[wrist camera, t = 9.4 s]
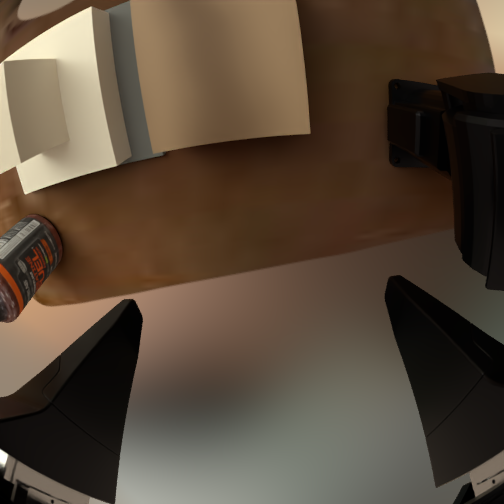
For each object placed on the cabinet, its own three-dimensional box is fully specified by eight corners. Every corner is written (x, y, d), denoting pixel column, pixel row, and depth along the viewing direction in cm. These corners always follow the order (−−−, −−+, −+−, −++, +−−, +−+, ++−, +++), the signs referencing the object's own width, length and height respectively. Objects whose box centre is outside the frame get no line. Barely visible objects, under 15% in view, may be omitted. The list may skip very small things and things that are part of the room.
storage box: (279, -13, 12) (288, -42, 8) (296, 122, 17) (310, 133, 13) (157, 6, 12) (129, -14, 8) (176, 137, 18) (153, 153, 13)
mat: (142, -1, 12) (139, -3, 11) (165, 153, 18) (163, 155, 18) (5, 71, 13) (1, 72, 12) (30, 190, 19) (26, 193, 19)
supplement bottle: (71, 266, 24) (13, 353, 14) (32, 262, 23) (-25, 337, 14) (56, 210, 20) (-24, 291, 11) (16, 212, 20) (-57, 281, 11)
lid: (108, 13, 12) (43, -8, 5) (131, 155, 18) (75, 196, 11) (18, 63, 12) (-49, 74, 6) (42, 182, 18) (-16, 225, 12)
